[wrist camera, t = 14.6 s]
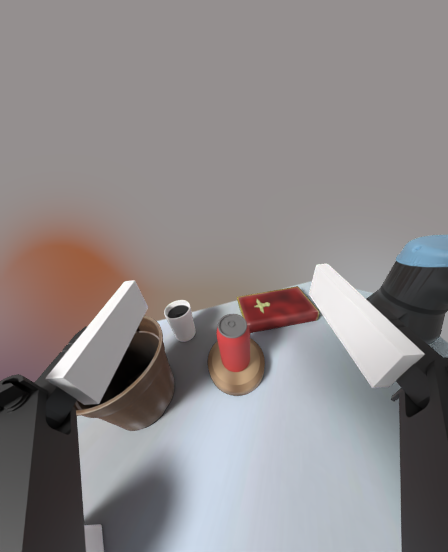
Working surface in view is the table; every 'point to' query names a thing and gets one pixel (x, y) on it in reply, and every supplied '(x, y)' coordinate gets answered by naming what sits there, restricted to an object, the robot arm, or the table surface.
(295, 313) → the hardcover book
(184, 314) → the white cup
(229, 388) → the shallow wooden bowl
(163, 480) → the table surface
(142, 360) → the plant pot
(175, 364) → the table surface
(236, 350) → the beer can
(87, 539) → the jar
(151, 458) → the table surface
